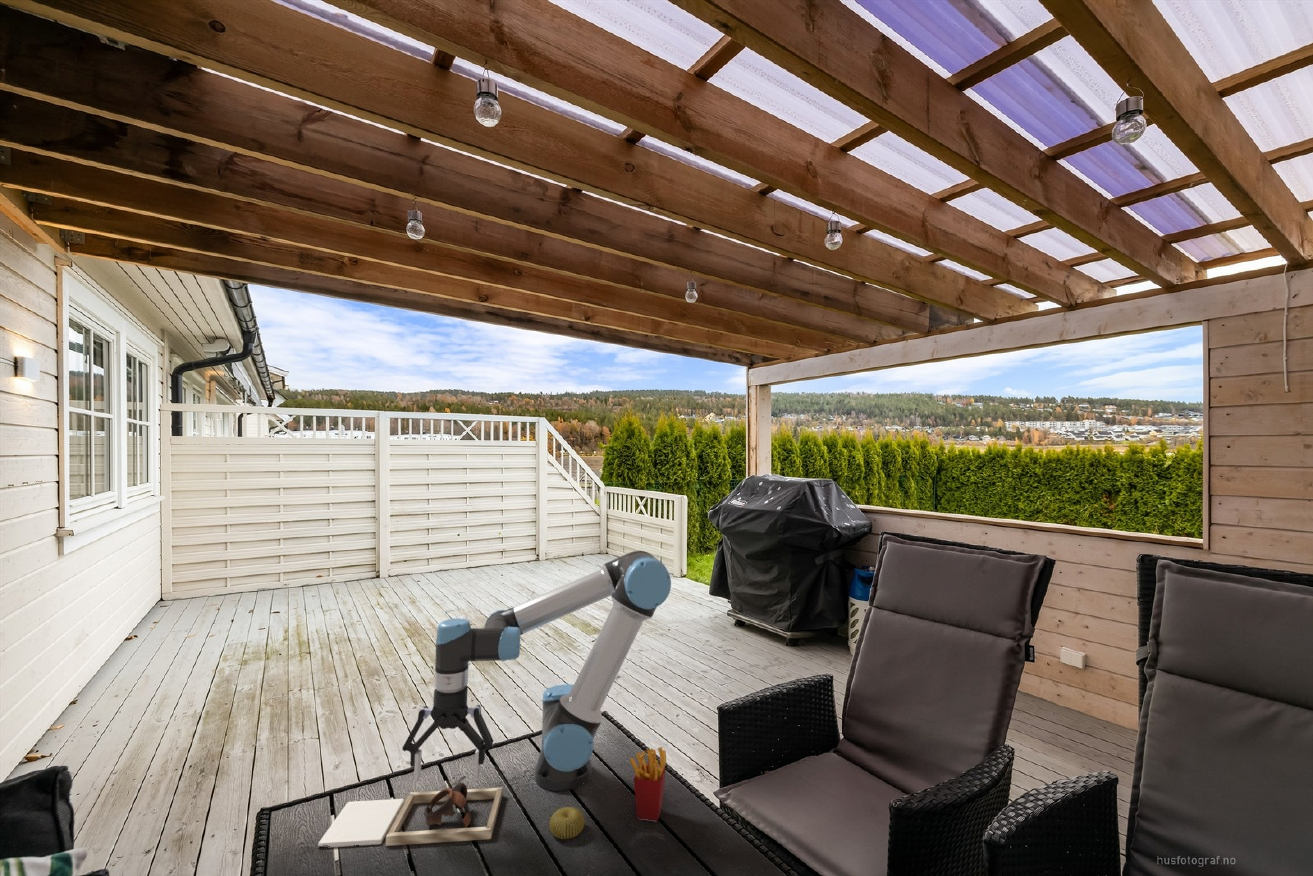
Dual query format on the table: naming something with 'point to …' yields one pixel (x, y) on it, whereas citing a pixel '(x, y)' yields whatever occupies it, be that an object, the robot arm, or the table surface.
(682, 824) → the table surface
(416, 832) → the frame
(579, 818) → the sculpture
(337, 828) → the ceramic tile
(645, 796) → the french fries
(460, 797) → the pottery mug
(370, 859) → the table surface
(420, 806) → the table surface
